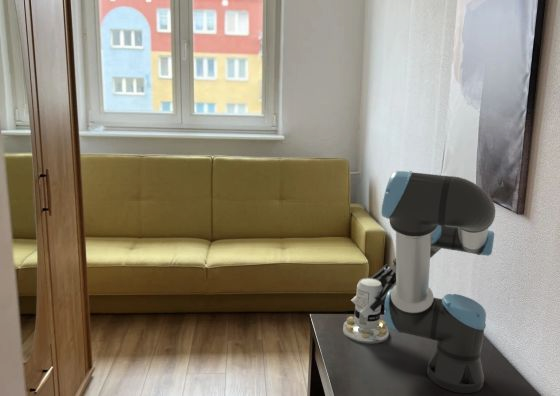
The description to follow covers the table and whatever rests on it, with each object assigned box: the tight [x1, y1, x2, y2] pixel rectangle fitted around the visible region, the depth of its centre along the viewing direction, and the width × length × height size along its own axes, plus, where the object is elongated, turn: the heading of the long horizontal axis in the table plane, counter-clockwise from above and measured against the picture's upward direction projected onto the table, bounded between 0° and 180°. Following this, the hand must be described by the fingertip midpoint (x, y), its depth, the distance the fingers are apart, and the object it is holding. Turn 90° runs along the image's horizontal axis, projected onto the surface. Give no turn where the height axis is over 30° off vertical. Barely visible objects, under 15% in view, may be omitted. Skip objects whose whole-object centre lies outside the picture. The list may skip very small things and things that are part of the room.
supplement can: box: [353, 277, 384, 329], centre depth 159 cm, size 8×8×15 cm
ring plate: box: [342, 315, 390, 345], centre depth 161 cm, size 15×15×3 cm
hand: (358, 308), depth 159 cm, fingers closed on supplement can, 8 cm apart
